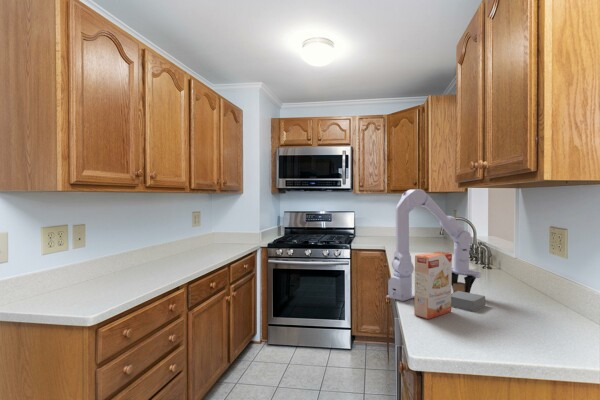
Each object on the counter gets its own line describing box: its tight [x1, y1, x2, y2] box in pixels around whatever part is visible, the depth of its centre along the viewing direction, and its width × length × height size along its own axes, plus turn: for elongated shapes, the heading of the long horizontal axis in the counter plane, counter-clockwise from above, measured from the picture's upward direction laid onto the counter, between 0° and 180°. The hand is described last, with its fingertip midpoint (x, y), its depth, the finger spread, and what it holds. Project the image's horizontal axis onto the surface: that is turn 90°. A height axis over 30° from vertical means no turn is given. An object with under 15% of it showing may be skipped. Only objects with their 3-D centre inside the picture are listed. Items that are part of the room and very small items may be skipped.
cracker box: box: [413, 251, 453, 320], centre depth 125 cm, size 14×6×21 cm, turn 126°
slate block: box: [451, 291, 486, 312], centre depth 134 cm, size 10×10×4 cm
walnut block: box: [452, 281, 466, 293], centre depth 146 cm, size 5×5×5 cm
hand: (461, 292), depth 146 cm, fingers closed on walnut block, 5 cm apart
